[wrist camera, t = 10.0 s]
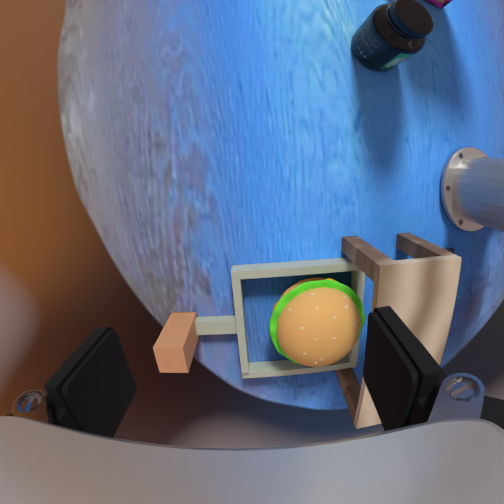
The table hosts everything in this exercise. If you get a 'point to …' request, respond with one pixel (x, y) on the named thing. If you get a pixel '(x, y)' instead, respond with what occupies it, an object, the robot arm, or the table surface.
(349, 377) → the tunnel
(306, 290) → the hamburger
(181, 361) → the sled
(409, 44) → the supplement bottle
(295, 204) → the table surface
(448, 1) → the candy bar box
